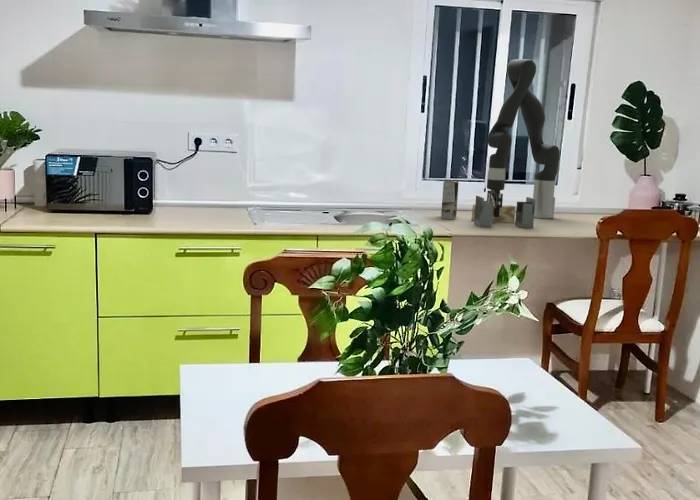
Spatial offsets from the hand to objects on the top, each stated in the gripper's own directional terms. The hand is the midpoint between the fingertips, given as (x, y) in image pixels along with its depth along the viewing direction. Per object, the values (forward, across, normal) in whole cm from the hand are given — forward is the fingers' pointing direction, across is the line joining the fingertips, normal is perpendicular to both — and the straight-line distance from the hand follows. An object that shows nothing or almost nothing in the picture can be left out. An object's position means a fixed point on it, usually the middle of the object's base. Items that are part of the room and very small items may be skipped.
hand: (493, 215), depth 328 cm
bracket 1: (+2, -14, +9) cm, 17 cm away
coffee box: (+3, +7, +18) cm, 19 cm away
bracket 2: (+2, -14, -9) cm, 17 cm away
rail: (+3, 0, 0) cm, 3 cm away
